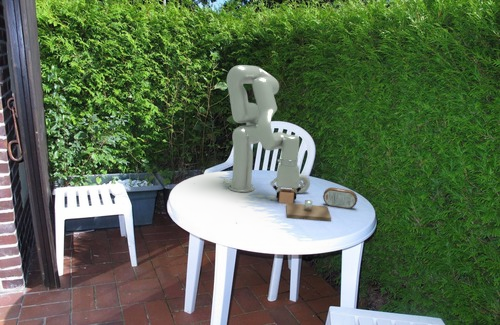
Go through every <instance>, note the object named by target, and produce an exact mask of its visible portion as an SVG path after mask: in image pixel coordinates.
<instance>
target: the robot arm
mask: <svg viewBox="0 0 500 325" xmlns="http://www.w3.org/2000/svg"><path fill="white" fill-rule="evenodd" d="M245 84H247V85H248V84H249V85H251V86H252V91H253V95H254V98H255V102H256V103H254V102H249V100H248V93H247V90H246V88H245V86H244V85H245ZM226 86H227V91H228V95H229V103H230V108H231V115H232V119H233V121H234V122H235V123H238V124H244V123H245V125H240V126H238V127H236V128H235V129H234V130H233V132H232V136H231V137H232V146H233V159H232V160H233V161H232V162H233V163H232V178H229V179H227V178H226V179H223V184H225V185H228V188H229V190H230V191H233V192H236V193H237V192H238V193H249V192H253V191H254V190H255V186H254V185H252V178H253V177H252V176H253V161H254V159H253V158H254V151H253V148H252V145H255V144H258V143H260V145H261V147H262V148H263V149H264V150H266V151H275V150H278V149H279V150H280V149H281V152H280V153H281V154H280V156H281V157H280V158H279V159H277V163H279V164H278V167H277V173H276V177H275V178H274V179H273V180H271V181H270V182H269V184H270V186H271V187H272V189H273V190H275V192H276V196H275V198H276V199H277V201H278V202H279V195H280V188H282V189H292V188H293V189H294V199H293V203H295V201H296V200H297V194H298V193H297V192H299V191H300V190H301V189H302V188H303V187H304V184H303V181H302V180H301V181H300V180H299V174H300V166H299V165H298V159H299V151H300V150H299V149H300V137H299V136H298V135H295V134H288V133H286V132H282V131H278V132H273V131H272V126H271V123H272V122H271V121H272V118H273V116H274V115H275V113H276V112H277V110H278V106H277V103H276V98H275V95H276V94H277V93H278V92H279V90H280V83H279V81H278V80H277V79H276V78H275V77H274V76H273V75H271V74H270V73H269V72H267V71H265V70H264V69H262V68H261V67H260V66H256V65H247V64H244V65H243V64H239V65H235V66H233V67H231V69H230V70H228V73H227V76H226ZM298 186H299V187H298Z"/></svg>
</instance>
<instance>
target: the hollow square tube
mask: <svg viewBox="0 0 500 325" xmlns="http://www.w3.org/2000/svg"><path fill="white" fill-rule="evenodd" d="M293 199H294V189H292V188H283V187H281V188H280V195H279V201H278V204H286V203H291V204H294V202H293Z"/></svg>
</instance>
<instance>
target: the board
mask: <svg viewBox="0 0 500 325" xmlns="http://www.w3.org/2000/svg"><path fill="white" fill-rule="evenodd" d="M304 206H305V203H293V204H291V203H285V208H286V211H285V213H286V219H296V220H298V219H299V220H311V221H321V222H322V221H323V222H332V216H331V213H330V211H329V208H328V207H329V206H328V205H315V204H312V211H310V212H308V211H305V210H304Z"/></svg>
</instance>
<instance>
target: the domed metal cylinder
mask: <svg viewBox="0 0 500 325" xmlns="http://www.w3.org/2000/svg"><path fill="white" fill-rule="evenodd" d="M304 205H305V206H304V210H305V211H308V212H310V211H312V205H313V200H311V199H306V200H304Z"/></svg>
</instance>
